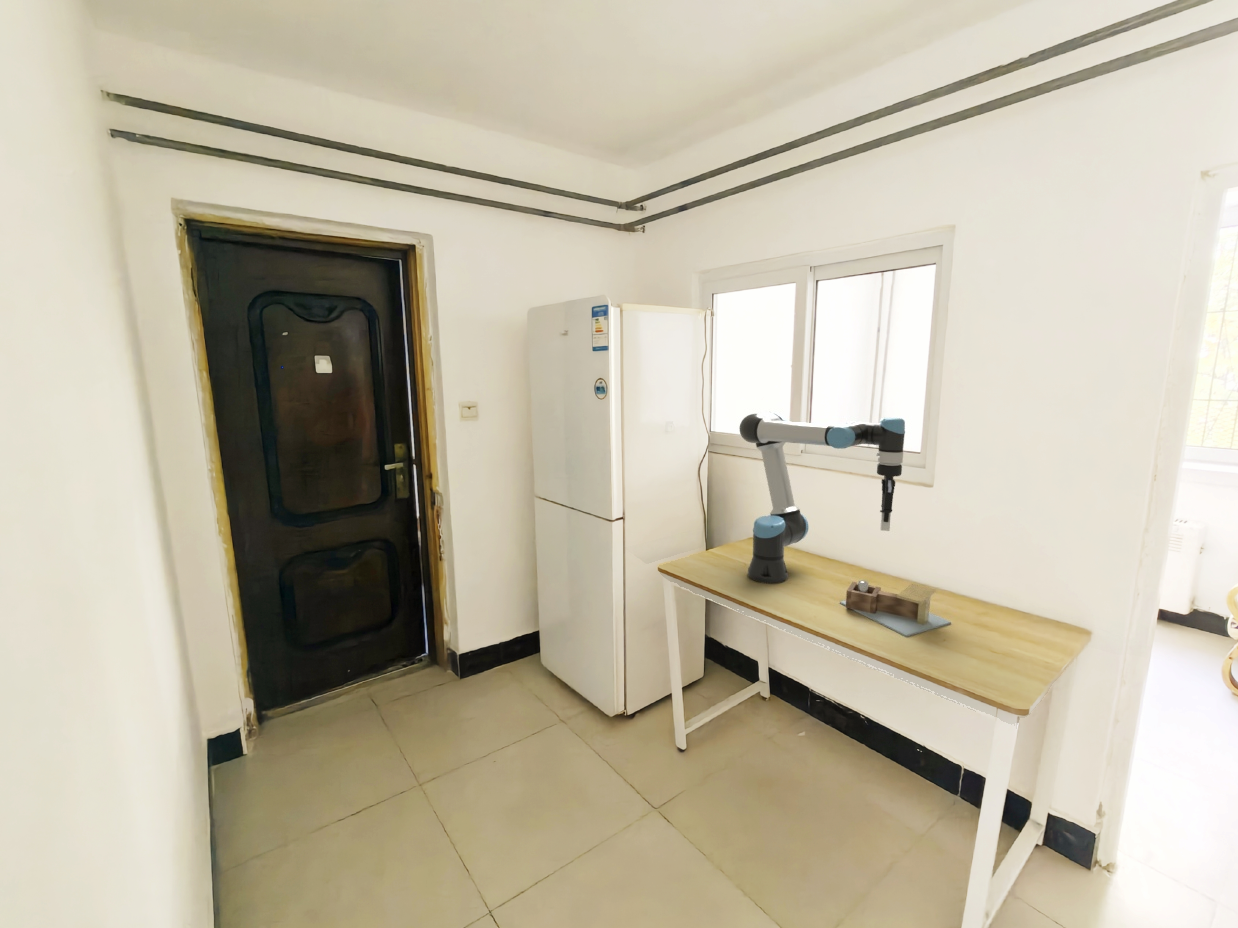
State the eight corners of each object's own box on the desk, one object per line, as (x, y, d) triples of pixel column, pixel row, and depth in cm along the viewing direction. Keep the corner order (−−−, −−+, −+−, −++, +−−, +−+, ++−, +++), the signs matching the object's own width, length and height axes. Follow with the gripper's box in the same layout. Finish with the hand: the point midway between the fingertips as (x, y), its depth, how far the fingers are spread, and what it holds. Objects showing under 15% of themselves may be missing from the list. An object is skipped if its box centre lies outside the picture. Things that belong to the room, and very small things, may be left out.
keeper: (894, 624, 168) (897, 595, 166) (909, 611, 177) (911, 583, 175) (918, 631, 163) (921, 601, 161) (932, 618, 172) (935, 589, 170)
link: (845, 607, 179) (846, 590, 178) (851, 597, 186) (852, 581, 185) (916, 623, 167) (917, 605, 166) (919, 612, 174) (921, 595, 173)
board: (839, 603, 184) (839, 601, 184) (881, 592, 192) (881, 591, 191) (906, 636, 160) (906, 634, 160) (950, 623, 168) (950, 621, 168)
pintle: (855, 604, 183) (856, 581, 181) (861, 602, 184) (863, 579, 182) (862, 607, 180) (863, 584, 178) (868, 606, 181) (870, 582, 180)
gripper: (876, 459, 188) (871, 523, 192) (879, 466, 176) (874, 534, 180) (899, 460, 185) (894, 525, 190) (904, 467, 173) (899, 536, 178)
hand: (884, 529), depth 185 cm, fingers closed
